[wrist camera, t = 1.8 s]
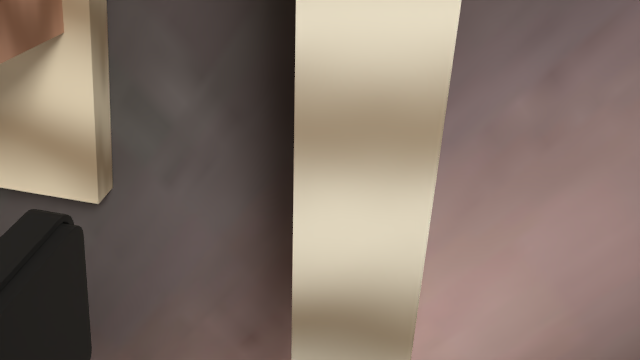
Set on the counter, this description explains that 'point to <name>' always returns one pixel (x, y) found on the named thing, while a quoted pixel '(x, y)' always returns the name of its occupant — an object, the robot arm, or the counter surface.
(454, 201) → the counter surface
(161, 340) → the counter surface
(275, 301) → the counter surface
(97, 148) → the ridge stand
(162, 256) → the counter surface
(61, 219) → the robot arm
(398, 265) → the birch bar
